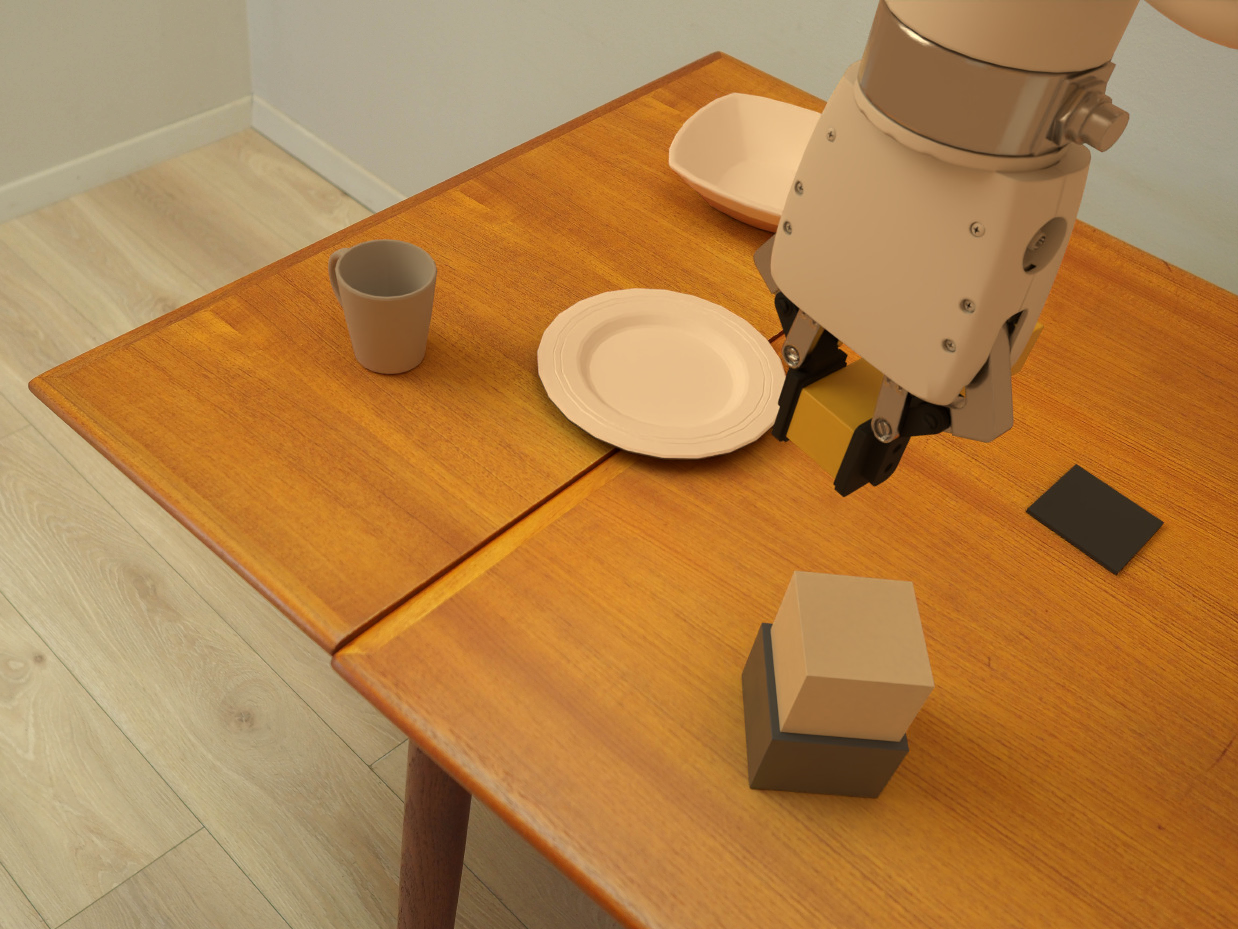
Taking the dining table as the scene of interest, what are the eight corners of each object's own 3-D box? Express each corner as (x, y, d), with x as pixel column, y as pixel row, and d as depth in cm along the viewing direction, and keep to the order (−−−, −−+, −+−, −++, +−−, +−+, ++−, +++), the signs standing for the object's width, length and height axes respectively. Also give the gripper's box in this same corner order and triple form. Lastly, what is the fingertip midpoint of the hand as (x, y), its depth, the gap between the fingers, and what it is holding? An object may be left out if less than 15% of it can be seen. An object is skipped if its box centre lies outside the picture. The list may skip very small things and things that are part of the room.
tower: (859, 684, 70) (919, 575, 61) (877, 798, 64) (946, 695, 56) (741, 674, 69) (784, 562, 60) (749, 788, 64) (798, 683, 55)
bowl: (840, 288, 100) (855, 242, 96) (635, 211, 105) (643, 164, 101) (896, 187, 115) (912, 143, 111) (714, 123, 119) (724, 79, 115)
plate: (755, 506, 80) (760, 489, 78) (497, 426, 82) (498, 408, 81) (802, 343, 94) (807, 326, 92) (581, 279, 96) (583, 262, 95)
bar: (971, 336, 55) (993, 290, 53) (1020, 371, 53) (1045, 325, 51) (784, 436, 48) (801, 388, 46) (835, 480, 46) (854, 432, 44)
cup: (390, 397, 83) (386, 312, 76) (301, 339, 86) (291, 253, 80) (456, 352, 87) (458, 268, 81) (369, 298, 91) (365, 214, 84)
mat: (1162, 525, 84) (1164, 522, 83) (1115, 575, 79) (1118, 572, 79) (1074, 466, 87) (1076, 463, 87) (1025, 511, 83) (1027, 508, 82)
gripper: (1254, 165, 33) (1020, 536, 46) (867, -40, 41) (762, 328, 54) (1127, 231, 29) (911, 615, 42) (728, -8, 37) (651, 378, 50)
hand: (829, 451), depth 48 cm, fingers closed on bar, 3 cm apart
